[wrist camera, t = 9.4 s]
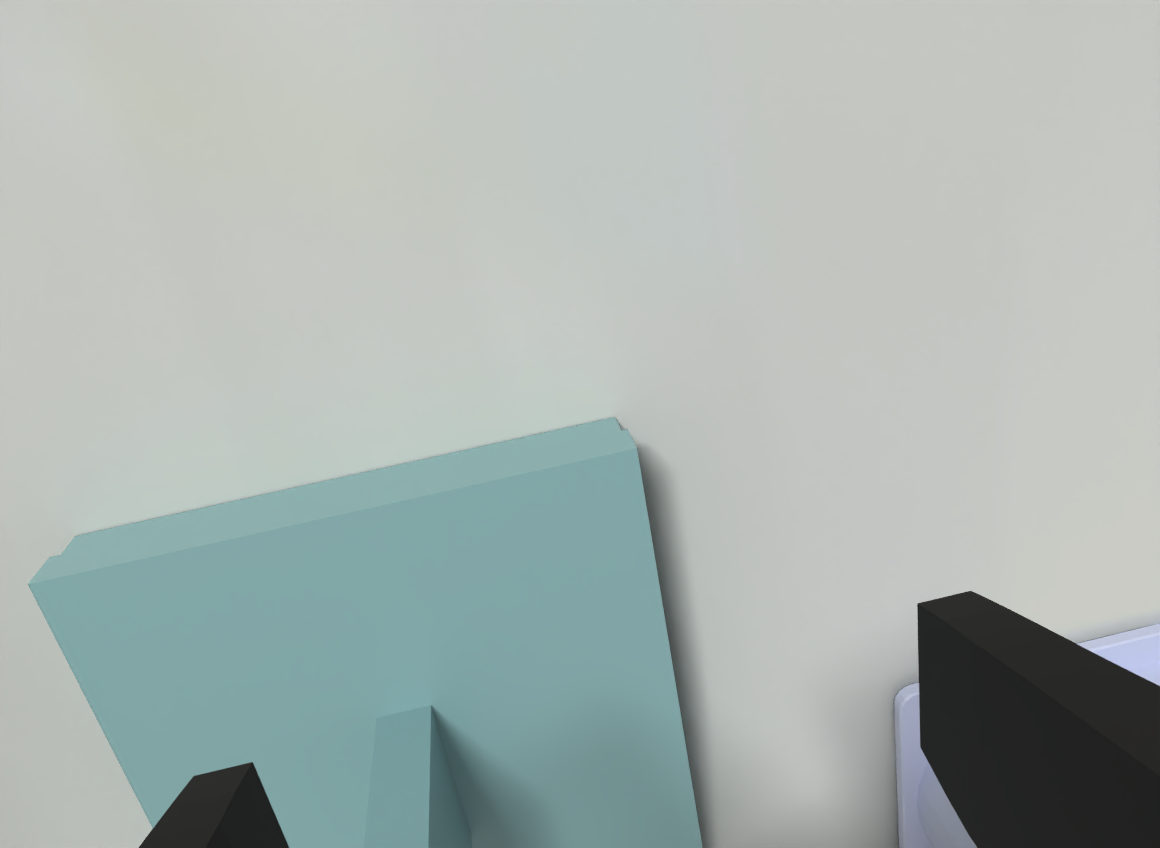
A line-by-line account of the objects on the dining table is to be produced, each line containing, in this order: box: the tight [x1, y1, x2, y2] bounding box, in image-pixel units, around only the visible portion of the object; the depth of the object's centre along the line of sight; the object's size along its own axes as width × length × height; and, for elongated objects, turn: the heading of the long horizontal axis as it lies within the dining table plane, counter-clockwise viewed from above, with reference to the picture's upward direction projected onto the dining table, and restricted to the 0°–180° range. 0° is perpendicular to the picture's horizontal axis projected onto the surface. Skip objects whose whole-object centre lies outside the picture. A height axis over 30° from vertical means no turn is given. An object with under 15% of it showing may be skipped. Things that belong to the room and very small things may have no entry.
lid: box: [28, 417, 703, 848], centre depth 19 cm, size 12×14×6 cm
